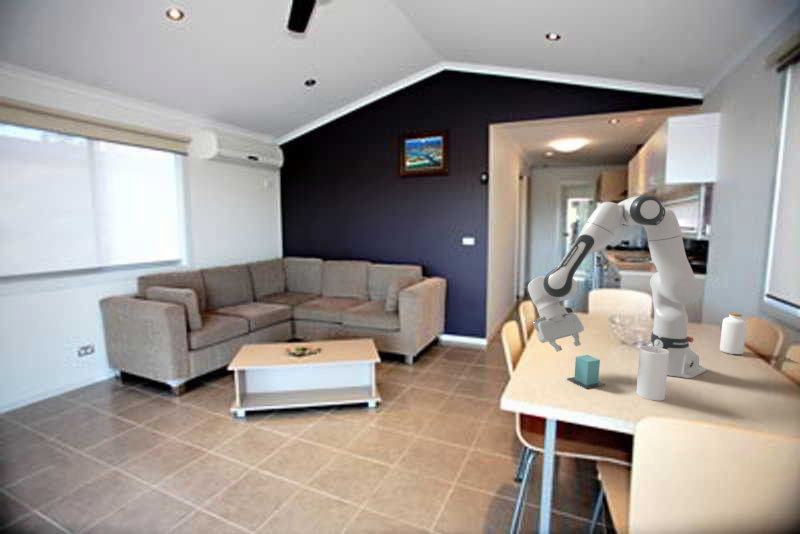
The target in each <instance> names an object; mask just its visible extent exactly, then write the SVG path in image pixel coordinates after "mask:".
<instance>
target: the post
mask: <svg viewBox="0 0 800 534" xmlns="http://www.w3.org/2000/svg"><path fill="white" fill-rule="evenodd" d="M574 378H575V376H572V377H568V378H566V381H569V382H571V383H573V384H575V385H577V386H579V385H580V386H579V387H581V386H582V387H581V388H583V387H584V388H583V389H585V388H586V389H585V390H589V388H590V389H595V388H600V387H604V386H606V383H604V382H601V380H598V383H596V384H590V385H585V384H583V383H581V382H579V381H577V380H575V379H574Z"/></svg>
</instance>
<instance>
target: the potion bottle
mask: <svg viewBox="0 0 800 534" xmlns="http://www.w3.org/2000/svg"><path fill="white" fill-rule="evenodd" d="M747 324H748V323H747V321H746V320H745V319H743V318H742V314H741V313H738V312H729V314H728V317H724V318H723V319H722V325H721V334H720V340H719V341H720V342H719V351H721V352H722V351H723V352H722V353H724V352H726V353H725V354H727V353H730V354H729V355H732V354H741V355H743V354H744V349H745V341H746V335H747V333H746V332H747Z"/></svg>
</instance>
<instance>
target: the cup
mask: <svg viewBox="0 0 800 534" xmlns="http://www.w3.org/2000/svg"><path fill="white" fill-rule="evenodd" d="M668 359H669V351H668V350H666V349H664V348H660V347H655V346H649V345H642V346H640V347H639V359H638V368H637V369H638V371H637V381H636V394H637V395H638V396H639V397H641V398H644V399H646V400H648V401H658V402H659V401H664V400H665V398H666V392H667V391H666V388H667V378H668V375H667V370H668Z"/></svg>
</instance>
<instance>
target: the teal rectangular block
mask: <svg viewBox="0 0 800 534" xmlns="http://www.w3.org/2000/svg"><path fill="white" fill-rule="evenodd" d="M574 363H575V365H574V377H575V378H574V379H575V380H577V381H579V382H581V383H583V384H585V385H590V384H596V383H598V381H600V380H599V379H600V378H599V377H600V367H601V359H599V358H596V357H593V356H591V355H589V354H585V355H579V356H578V355H577V356H575V362H574Z"/></svg>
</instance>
